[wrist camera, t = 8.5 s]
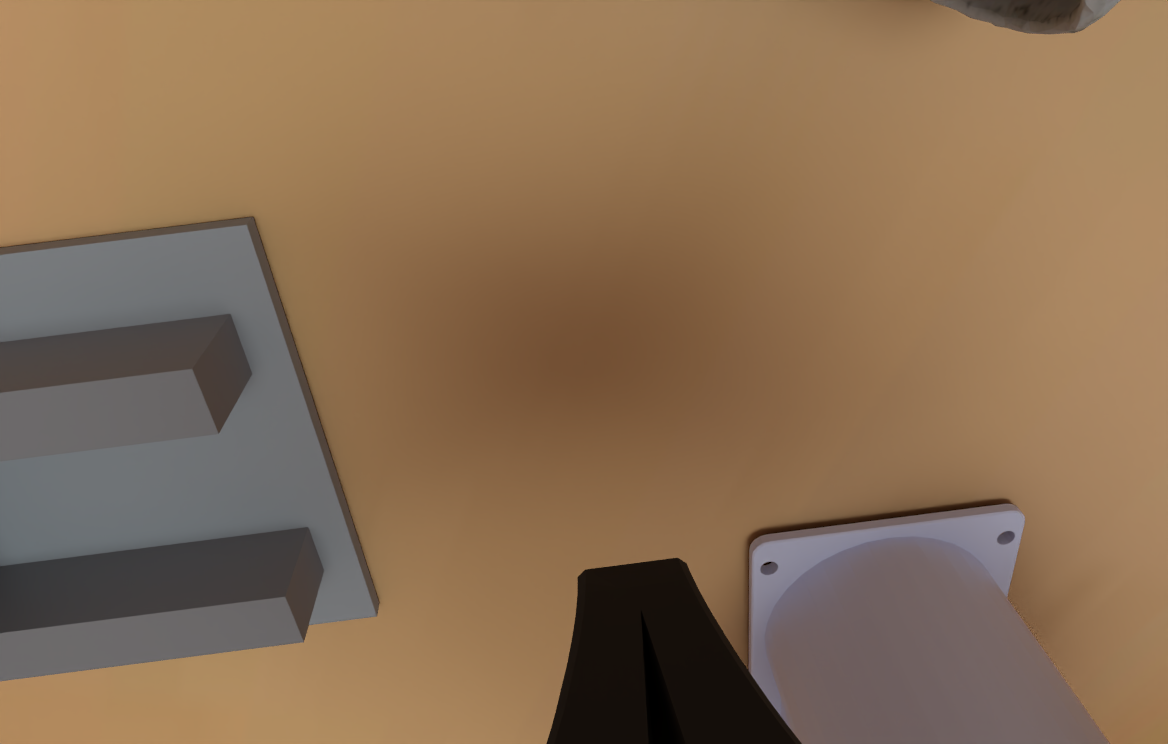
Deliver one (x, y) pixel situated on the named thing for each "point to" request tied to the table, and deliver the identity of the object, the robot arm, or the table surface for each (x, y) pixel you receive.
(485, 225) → the table surface
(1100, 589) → the table surface
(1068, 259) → the table surface
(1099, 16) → the ceramic mug
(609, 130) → the table surface
